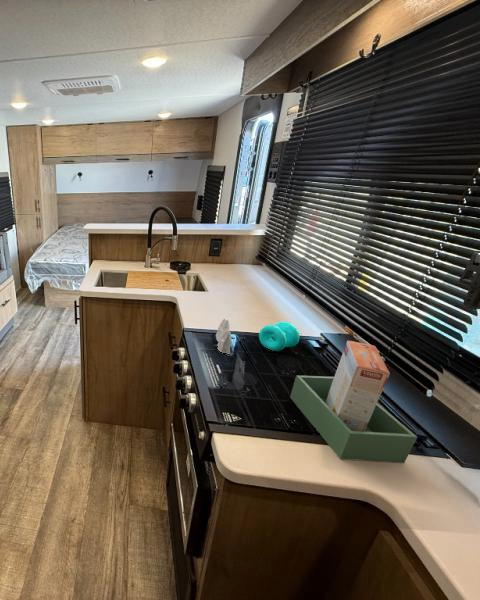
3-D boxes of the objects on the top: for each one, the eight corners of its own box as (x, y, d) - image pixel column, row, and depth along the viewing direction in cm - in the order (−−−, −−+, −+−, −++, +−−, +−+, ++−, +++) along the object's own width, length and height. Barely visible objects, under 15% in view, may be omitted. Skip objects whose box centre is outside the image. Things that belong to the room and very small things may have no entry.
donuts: (297, 351, 114) (304, 327, 111) (279, 357, 111) (285, 332, 107) (273, 339, 123) (278, 316, 119) (255, 344, 119) (260, 321, 116)
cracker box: (360, 447, 73) (391, 373, 65) (328, 436, 76) (355, 365, 68) (351, 411, 84) (377, 344, 76) (323, 403, 87) (346, 338, 79)
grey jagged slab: (214, 338, 124) (218, 314, 120) (225, 340, 123) (230, 315, 118) (217, 354, 113) (222, 327, 109) (230, 355, 112) (235, 328, 108)
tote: (339, 399, 89) (347, 377, 87) (404, 463, 69) (417, 437, 67) (289, 397, 91) (296, 375, 88) (340, 459, 71) (350, 433, 68)
